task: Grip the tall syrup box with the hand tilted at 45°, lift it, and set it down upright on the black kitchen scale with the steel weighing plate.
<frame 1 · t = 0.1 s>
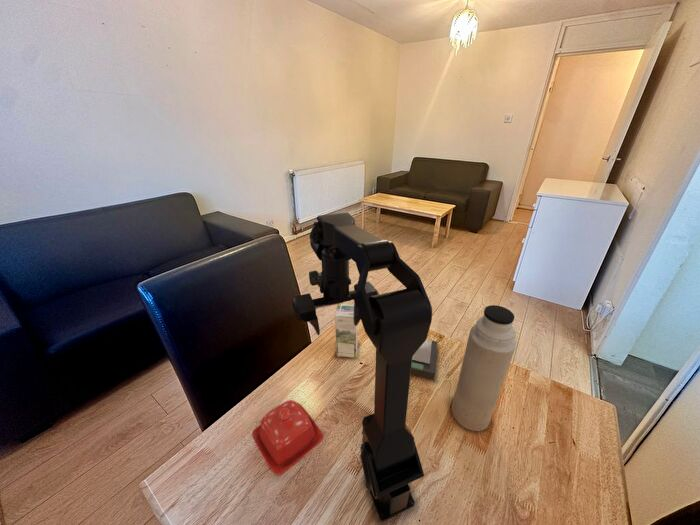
hand: (337, 329, 67), 15 cm above the table, tool pointing down, fingers open, 9 cm apart
scale: (412, 357, 78), on the table
butter dish: (288, 439, 59), on the table
thermos bottle: (469, 414, 64), on the table
syrup box: (347, 351, 81), on the table
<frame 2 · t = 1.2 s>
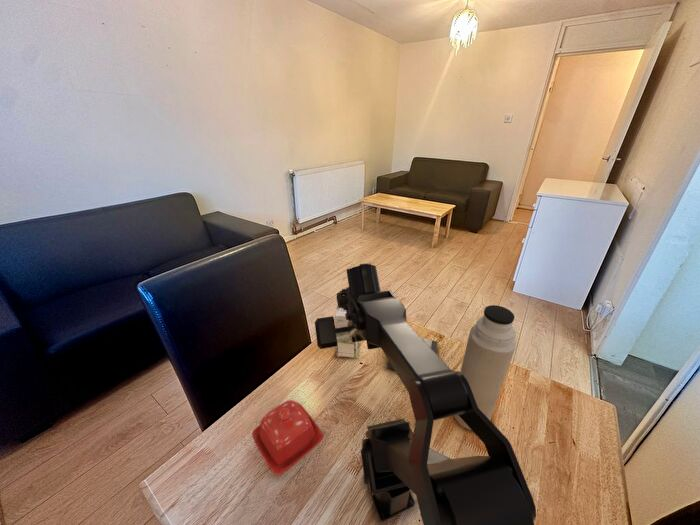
hand: (353, 331, 69), 13 cm above the table, tool tilted 45°, fingers open, 9 cm apart
nothing on the table moved.
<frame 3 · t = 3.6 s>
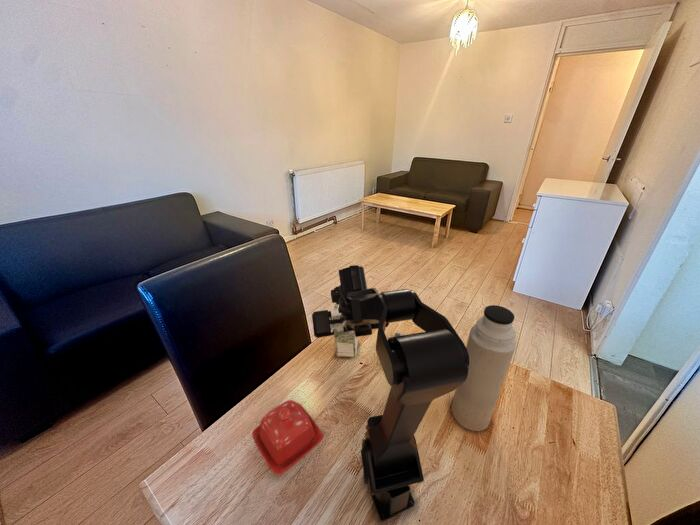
hand: (345, 323, 78), 9 cm above the table, tool tilted 45°, fingers closed on syrup box, 7 cm apart
syrup box: (347, 350, 81), on the table, touching gripper
everything else where it was.
when the fingers open (12 cm above the table, at t = 9.5 s): syrup box stays where it is, resting on scale.
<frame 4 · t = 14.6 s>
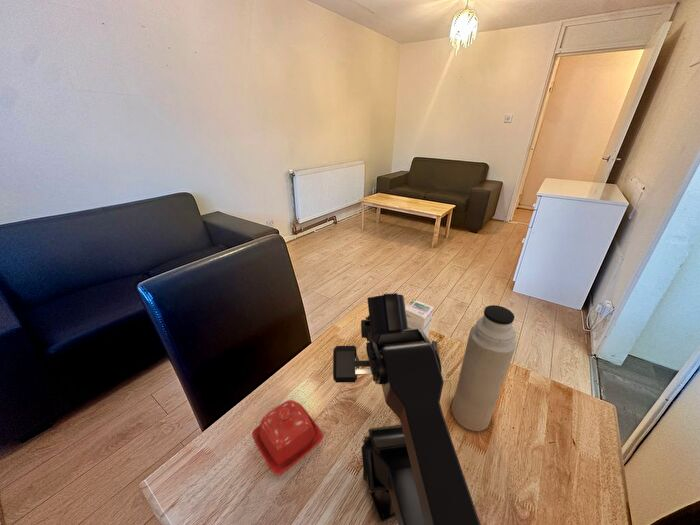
hand: (379, 362, 59), 14 cm above the table, tool tilted 45°, fingers open, 9 cm apart
syrup box: (413, 351, 77), point 3 cm above the table, touching scale
everything else where it was.
at the end: syrup box inside the target area on the scale (0.6 cm from its centre), point 2.8 cm above the scale's base; syrup box tilted 0°; the gripper is holding nothing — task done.
